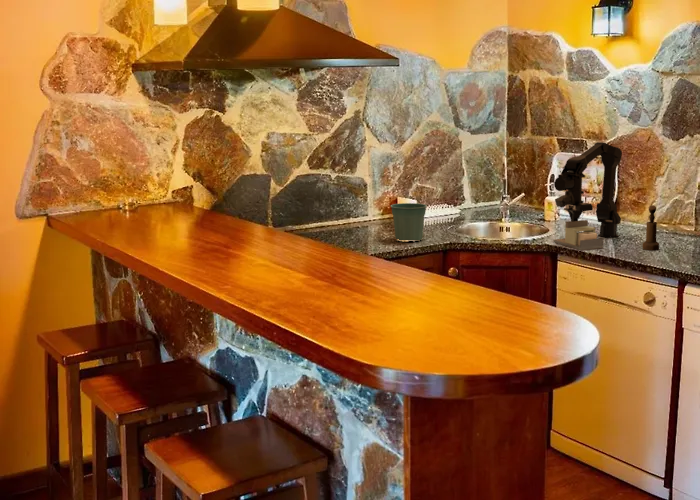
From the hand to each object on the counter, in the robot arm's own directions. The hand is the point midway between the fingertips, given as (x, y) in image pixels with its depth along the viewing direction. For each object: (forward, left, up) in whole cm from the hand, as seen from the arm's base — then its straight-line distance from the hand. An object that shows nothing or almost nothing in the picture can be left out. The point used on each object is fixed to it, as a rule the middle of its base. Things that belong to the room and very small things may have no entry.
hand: (573, 225), depth 349 cm
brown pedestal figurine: (-21, +23, -8) cm, 33 cm away
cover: (0, +5, -7) cm, 8 cm away
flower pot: (+60, -40, -8) cm, 72 cm away
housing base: (0, +3, -8) cm, 9 cm away
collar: (0, +9, -7) cm, 11 cm away
